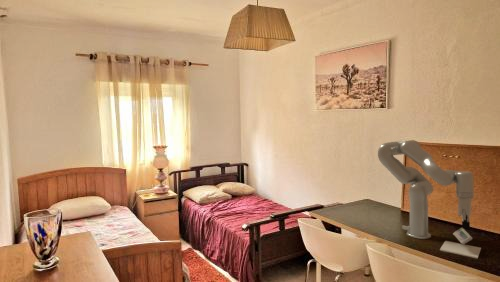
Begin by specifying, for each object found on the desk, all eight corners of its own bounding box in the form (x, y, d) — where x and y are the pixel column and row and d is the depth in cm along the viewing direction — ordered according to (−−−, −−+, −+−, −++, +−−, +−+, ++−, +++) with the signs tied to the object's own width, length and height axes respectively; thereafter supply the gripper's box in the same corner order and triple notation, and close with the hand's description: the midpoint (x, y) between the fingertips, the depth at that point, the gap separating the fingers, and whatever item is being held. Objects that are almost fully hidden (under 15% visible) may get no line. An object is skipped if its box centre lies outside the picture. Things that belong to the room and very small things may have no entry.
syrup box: (473, 238, 169) (471, 236, 158) (463, 244, 171) (461, 243, 160) (464, 229, 173) (462, 226, 162) (454, 235, 174) (452, 233, 164)
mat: (439, 250, 164) (439, 249, 164) (445, 241, 176) (445, 240, 176) (477, 258, 154) (477, 257, 154) (480, 248, 165) (480, 247, 165)
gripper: (458, 191, 176) (459, 224, 177) (454, 196, 165) (455, 231, 166) (475, 192, 172) (476, 226, 172) (471, 198, 160) (473, 234, 161)
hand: (466, 228), depth 169 cm, fingers closed
